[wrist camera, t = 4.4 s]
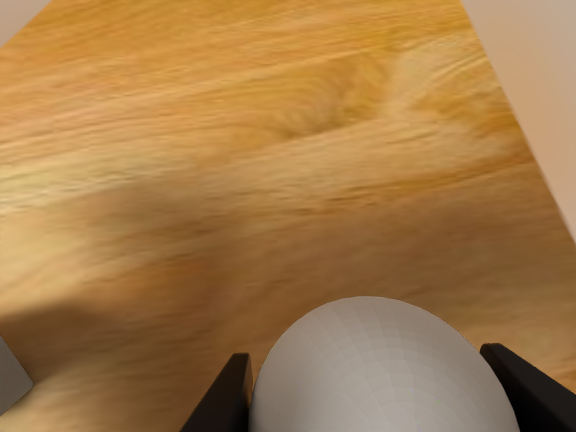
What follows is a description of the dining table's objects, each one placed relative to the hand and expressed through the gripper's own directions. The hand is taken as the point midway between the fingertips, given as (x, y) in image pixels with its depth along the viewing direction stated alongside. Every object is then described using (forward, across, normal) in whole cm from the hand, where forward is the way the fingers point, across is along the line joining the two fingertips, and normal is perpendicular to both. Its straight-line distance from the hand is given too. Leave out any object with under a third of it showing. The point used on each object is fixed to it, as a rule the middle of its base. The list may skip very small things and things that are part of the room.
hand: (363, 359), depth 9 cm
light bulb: (+4, 0, +6) cm, 7 cm away
